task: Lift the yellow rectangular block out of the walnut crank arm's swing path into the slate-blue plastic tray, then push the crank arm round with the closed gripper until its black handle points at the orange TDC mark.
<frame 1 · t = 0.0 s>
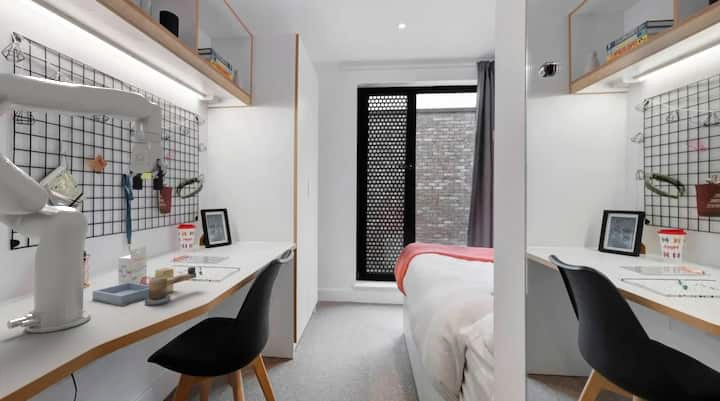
hand: (147, 189, 107), 37 cm above the table, tool pointing down, fingers open, 9 cm apart
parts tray: (125, 297, 106), on the table
crank base: (157, 302, 103), on the table
crank lever: (174, 281, 108), point 5 cm above the table, hinge at 0.0°
ink cartridge box: (132, 286, 119), on the table
yellow rectangular block: (164, 291, 114), on the table
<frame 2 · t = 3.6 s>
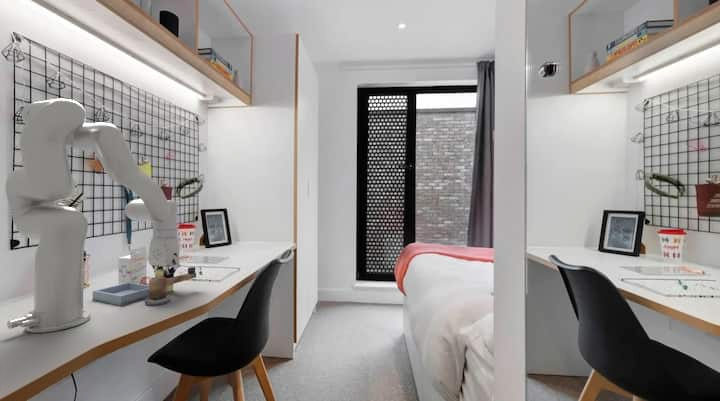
hand: (164, 283, 114), 3 cm above the table, tool pointing down, fingers closed on yellow rectangular block, 4 cm apart
yellow rectangular block: (164, 291, 114), on the table, touching gripper
everything else where it was.
when the fingers open (5 cm above the table, at t = 9.6 s): yellow rectangular block drops 1 cm, resting on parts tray.
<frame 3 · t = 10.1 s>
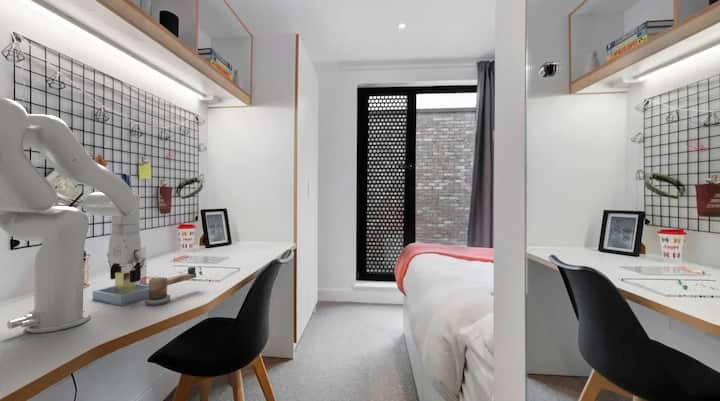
hand: (125, 279, 106), 6 cm above the table, tool pointing down, fingers open, 9 cm apart
yellow rectangular block: (125, 295, 106), point 1 cm above the table, touching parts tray
everything else where it was.
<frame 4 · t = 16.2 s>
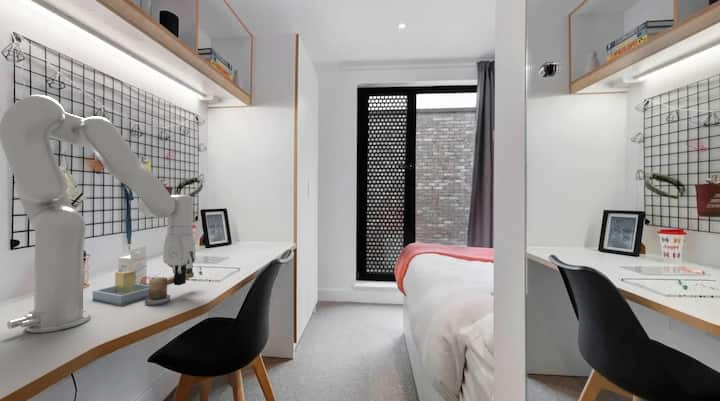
hand: (179, 284, 107), 5 cm above the table, tool pointing down, fingers closed
crank lever: (172, 281, 108), point 5 cm above the table, hinge at 5.6°, touching gripper
everything else where it was.
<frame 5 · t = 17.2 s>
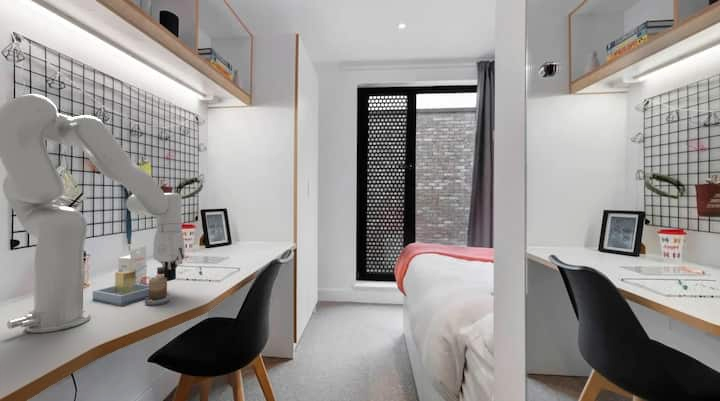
hand: (170, 279, 110), 5 cm above the table, tool pointing down, fingers closed
crank lever: (159, 281, 108), point 5 cm above the table, hinge at 48.5°, touching gripper
everything else where it was.
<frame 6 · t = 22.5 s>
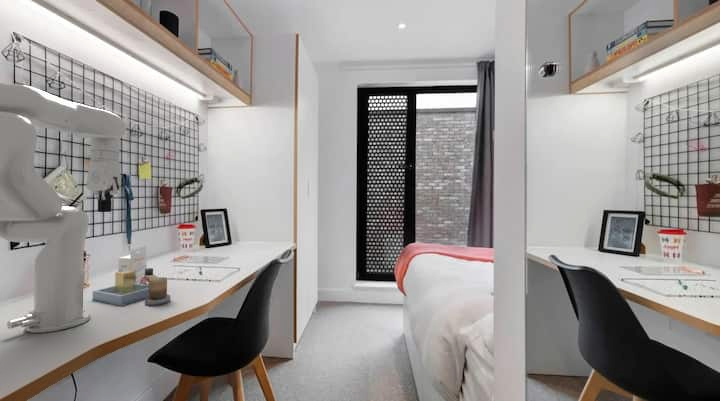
hand: (104, 211, 105), 29 cm above the table, tool pointing down, fingers closed
crank lever: (153, 282, 107), point 5 cm above the table, hinge at 64.6°
everything else where it was.
at the end: yellow rectangular block inside the target area on the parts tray (0.1 cm from its centre), point 0.8 cm above the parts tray's base; crank lever at +65° (first picture: +0°); the gripper is holding nothing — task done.
